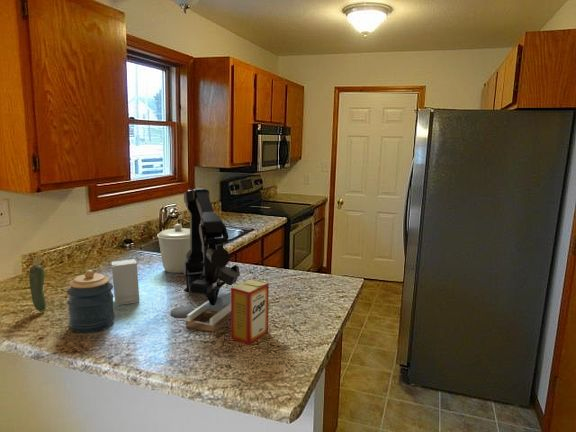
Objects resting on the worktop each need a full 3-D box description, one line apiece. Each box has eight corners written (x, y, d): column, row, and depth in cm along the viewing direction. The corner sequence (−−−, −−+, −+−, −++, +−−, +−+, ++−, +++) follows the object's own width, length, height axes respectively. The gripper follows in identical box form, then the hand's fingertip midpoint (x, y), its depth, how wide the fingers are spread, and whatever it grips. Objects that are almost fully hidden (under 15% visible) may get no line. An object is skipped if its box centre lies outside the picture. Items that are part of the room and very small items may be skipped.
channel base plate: (185, 326, 130) (185, 320, 130) (223, 299, 153) (223, 293, 153) (214, 332, 127) (214, 325, 127) (248, 302, 150) (248, 297, 150)
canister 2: (149, 271, 185) (147, 224, 181) (181, 261, 199) (180, 218, 196) (177, 279, 175) (175, 229, 171) (208, 268, 189) (207, 223, 186)
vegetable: (32, 315, 136) (26, 256, 133) (32, 310, 140) (27, 253, 136) (47, 313, 138) (42, 254, 135) (48, 308, 142) (43, 251, 139)
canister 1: (85, 337, 122) (81, 279, 119) (60, 326, 129) (56, 271, 126) (123, 322, 133) (120, 268, 130) (98, 312, 140) (95, 261, 136)
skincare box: (137, 297, 154) (136, 258, 151) (139, 302, 149) (138, 262, 146) (113, 300, 150) (110, 260, 148) (114, 306, 145) (112, 265, 142)
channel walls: (187, 320, 130) (186, 314, 129) (209, 304, 143) (209, 299, 142) (212, 325, 127) (212, 319, 126) (233, 308, 140) (233, 303, 139)
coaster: (165, 315, 138) (165, 313, 138) (179, 306, 146) (179, 305, 146) (186, 319, 136) (186, 317, 136) (199, 310, 143) (199, 308, 143)
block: (209, 310, 138) (208, 295, 137) (217, 303, 144) (217, 289, 143) (222, 312, 137) (222, 297, 136) (230, 305, 142) (230, 291, 141)
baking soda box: (248, 344, 120) (248, 291, 117) (231, 338, 123) (231, 286, 120) (268, 332, 127) (268, 282, 125) (251, 326, 131) (251, 278, 128)
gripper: (220, 269, 122) (221, 320, 124) (247, 254, 139) (247, 298, 142) (187, 265, 125) (188, 314, 128) (218, 250, 143) (218, 294, 145)
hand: (213, 304), depth 136 cm, fingers closed
